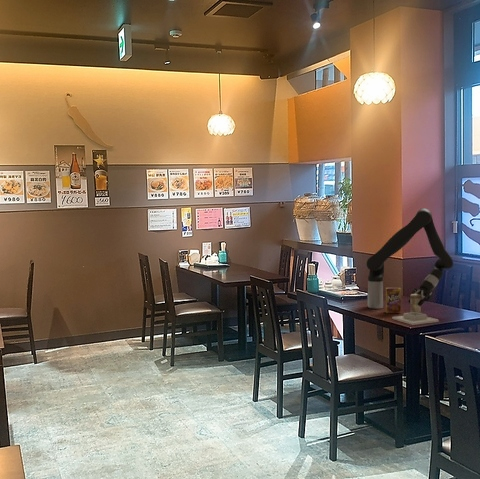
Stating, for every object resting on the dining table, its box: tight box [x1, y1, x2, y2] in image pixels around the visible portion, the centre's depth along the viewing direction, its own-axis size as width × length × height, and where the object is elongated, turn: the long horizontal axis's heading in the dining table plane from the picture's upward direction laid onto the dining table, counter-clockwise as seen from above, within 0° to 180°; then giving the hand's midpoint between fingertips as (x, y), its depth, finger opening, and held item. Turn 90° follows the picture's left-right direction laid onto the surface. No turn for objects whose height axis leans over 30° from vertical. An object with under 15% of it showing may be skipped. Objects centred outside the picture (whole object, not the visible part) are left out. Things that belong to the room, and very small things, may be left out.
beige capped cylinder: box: [409, 293, 422, 313], centre depth 348 cm, size 4×4×12 cm
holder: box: [391, 312, 439, 326], centre depth 332 cm, size 18×18×4 cm
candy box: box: [384, 287, 402, 314], centre depth 355 cm, size 9×4×15 cm, turn 81°
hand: (414, 304), depth 347 cm, fingers open, 8 cm apart
